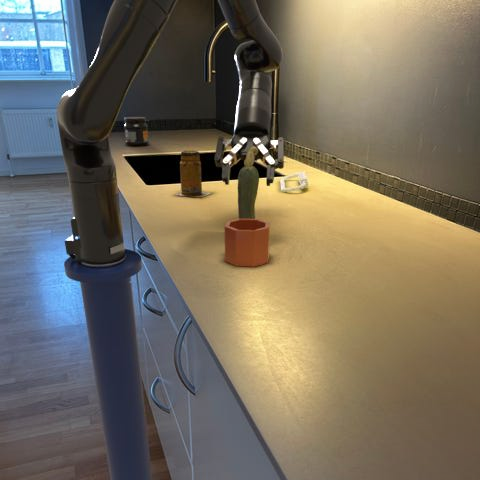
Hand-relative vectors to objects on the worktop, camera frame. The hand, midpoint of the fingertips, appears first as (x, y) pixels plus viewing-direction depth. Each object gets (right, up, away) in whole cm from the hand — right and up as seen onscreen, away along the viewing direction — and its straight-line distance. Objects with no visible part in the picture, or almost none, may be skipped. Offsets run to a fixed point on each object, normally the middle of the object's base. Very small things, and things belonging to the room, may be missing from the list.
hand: (247, 183), depth 104 cm
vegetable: (0, -11, +6) cm, 13 cm away
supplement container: (-49, +54, +134) cm, 153 cm away
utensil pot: (0, -16, -3) cm, 16 cm away
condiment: (-15, +9, +46) cm, 50 cm away
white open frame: (+15, +14, +56) cm, 59 cm away
